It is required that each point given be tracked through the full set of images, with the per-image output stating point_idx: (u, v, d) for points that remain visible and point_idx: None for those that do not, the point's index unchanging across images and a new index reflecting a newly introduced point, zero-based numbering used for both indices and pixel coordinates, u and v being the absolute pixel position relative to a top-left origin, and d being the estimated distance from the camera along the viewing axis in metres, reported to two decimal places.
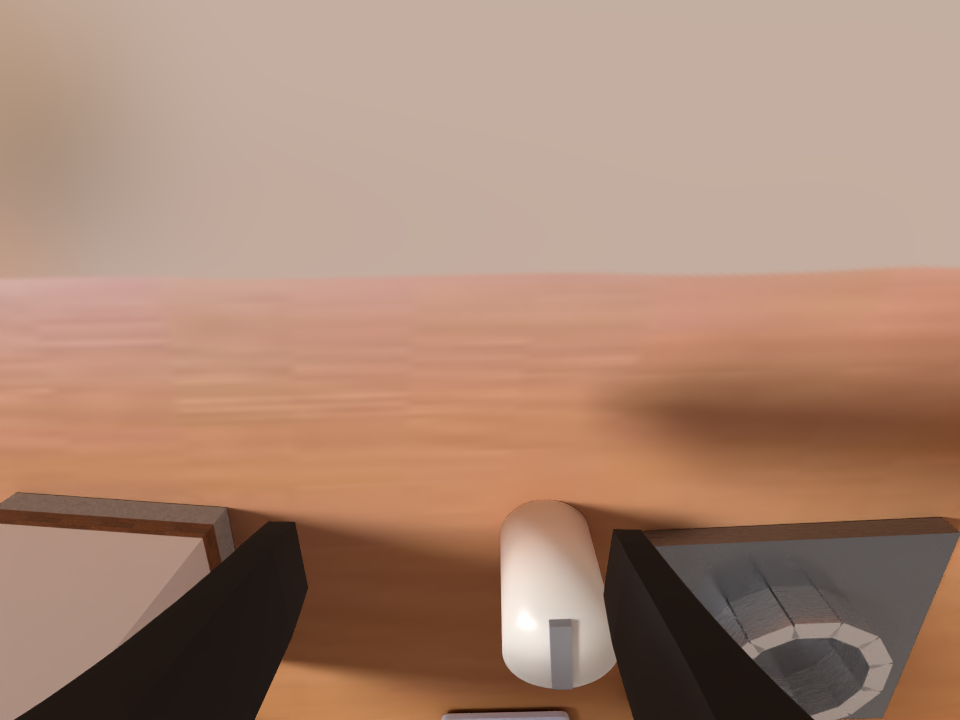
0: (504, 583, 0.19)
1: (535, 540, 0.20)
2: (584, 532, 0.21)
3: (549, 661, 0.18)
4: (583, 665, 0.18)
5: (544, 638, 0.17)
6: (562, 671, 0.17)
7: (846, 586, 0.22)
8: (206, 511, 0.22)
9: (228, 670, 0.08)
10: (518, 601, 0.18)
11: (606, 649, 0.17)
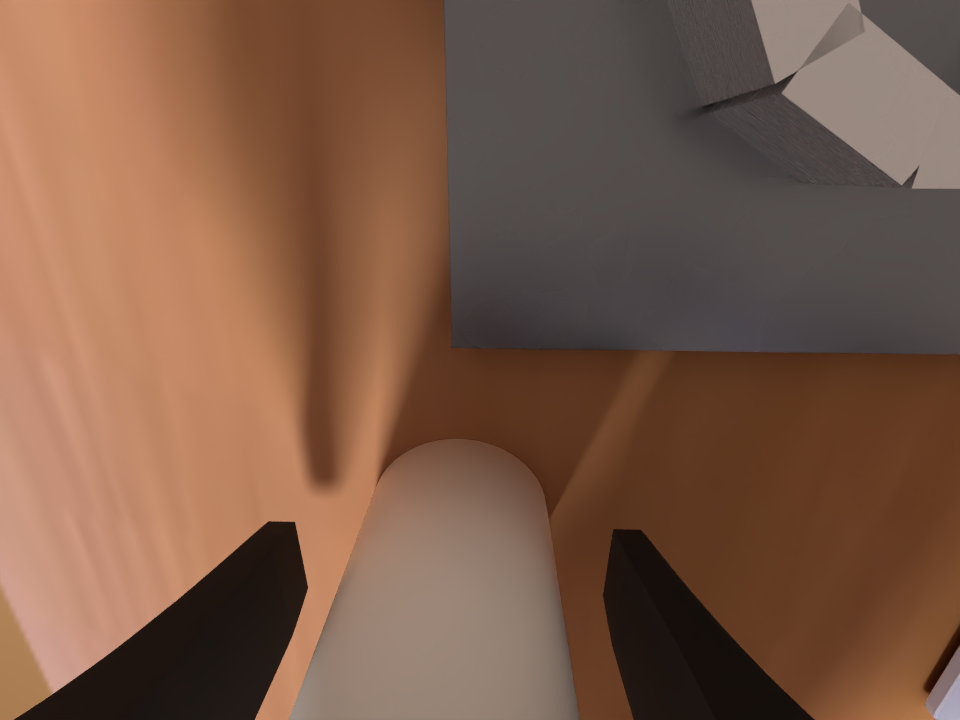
0: None
1: None
2: (388, 493, 0.10)
3: None
4: None
5: None
6: None
7: None
8: None
9: (228, 670, 0.08)
10: None
11: None
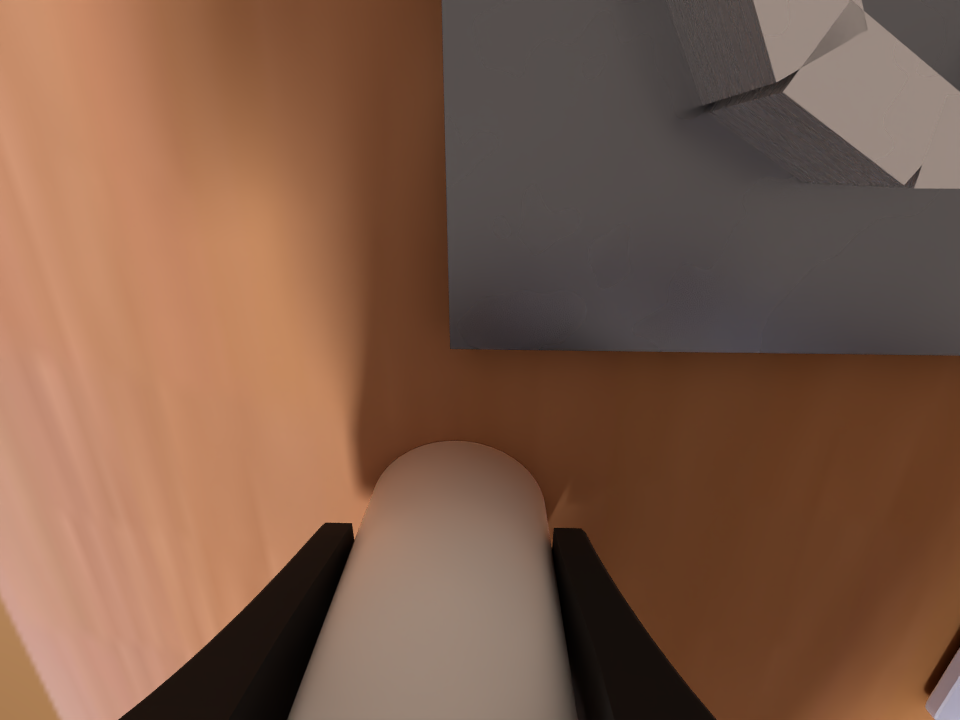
0: None
1: None
2: (385, 495, 0.10)
3: None
4: None
5: None
6: None
7: None
8: None
9: (301, 672, 0.08)
10: None
11: None
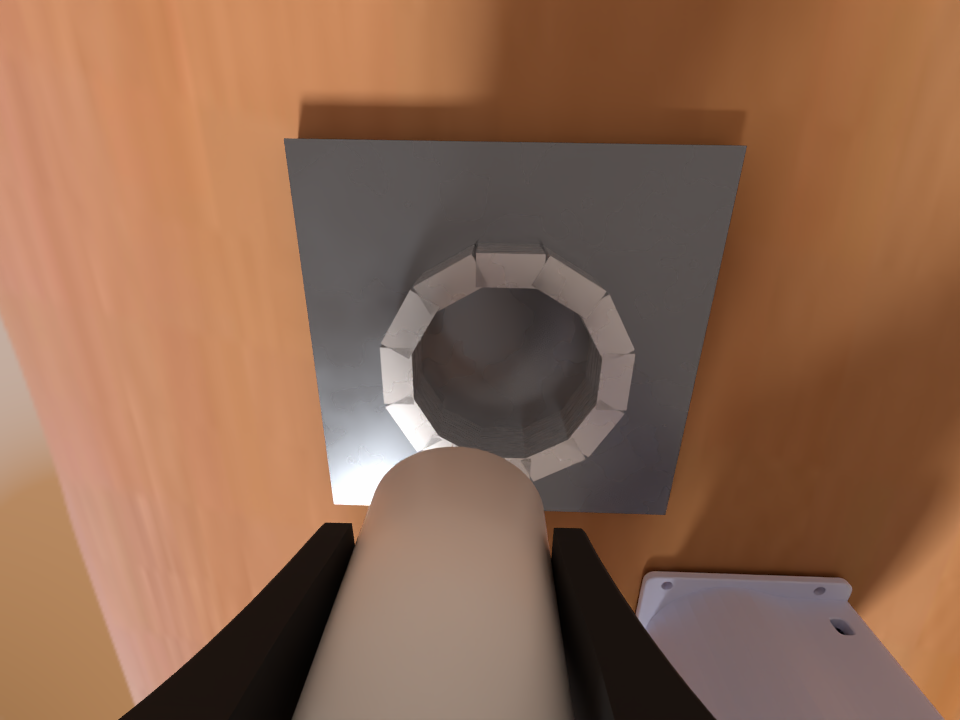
0: None
1: None
2: (390, 499, 0.10)
3: None
4: None
5: None
6: None
7: (395, 281, 0.15)
8: None
9: (301, 672, 0.08)
10: None
11: None
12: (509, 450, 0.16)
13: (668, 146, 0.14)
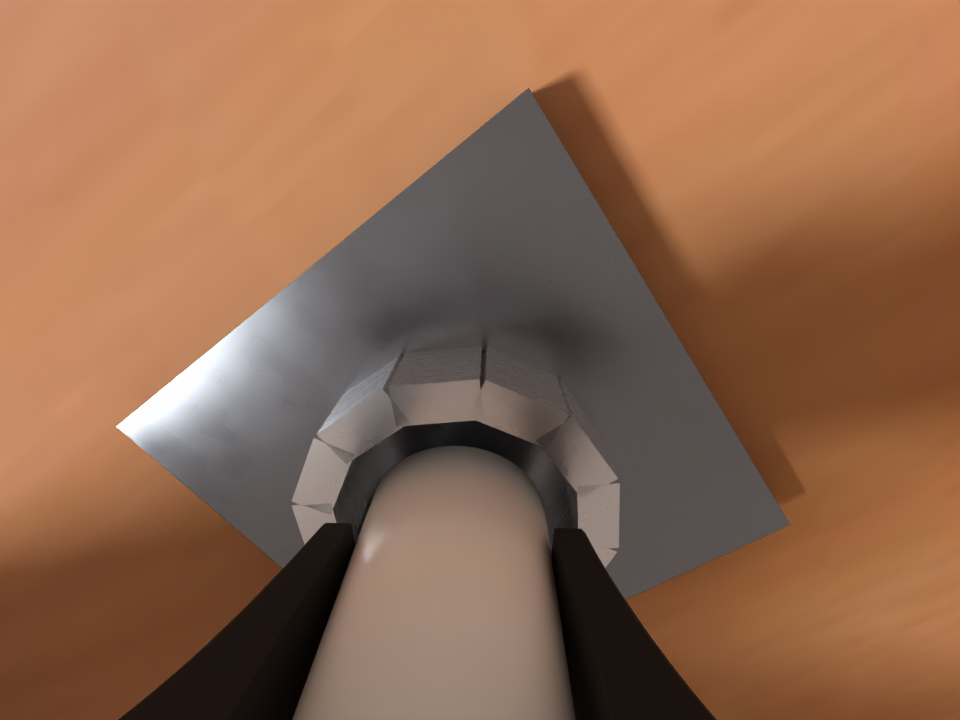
0: None
1: None
2: (392, 498, 0.10)
3: None
4: None
5: None
6: None
7: (454, 324, 0.11)
8: None
9: (301, 672, 0.08)
10: None
11: None
12: None
13: (756, 472, 0.13)
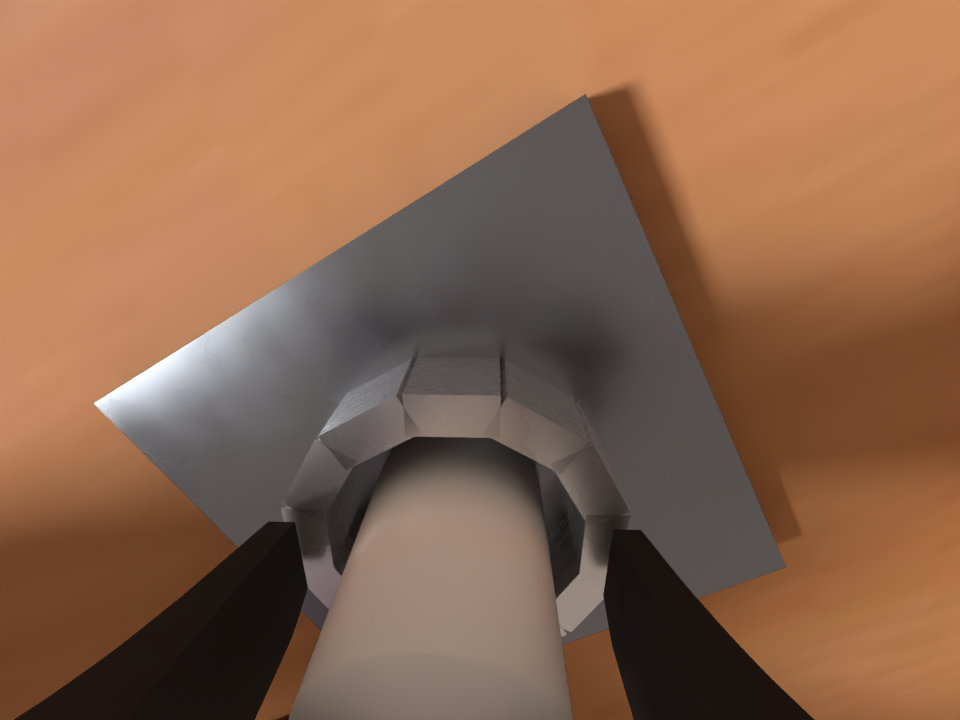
0: None
1: None
2: (399, 470, 0.11)
3: None
4: None
5: None
6: None
7: (474, 333, 0.11)
8: None
9: (228, 670, 0.08)
10: None
11: (432, 676, 0.06)
12: None
13: (761, 513, 0.13)
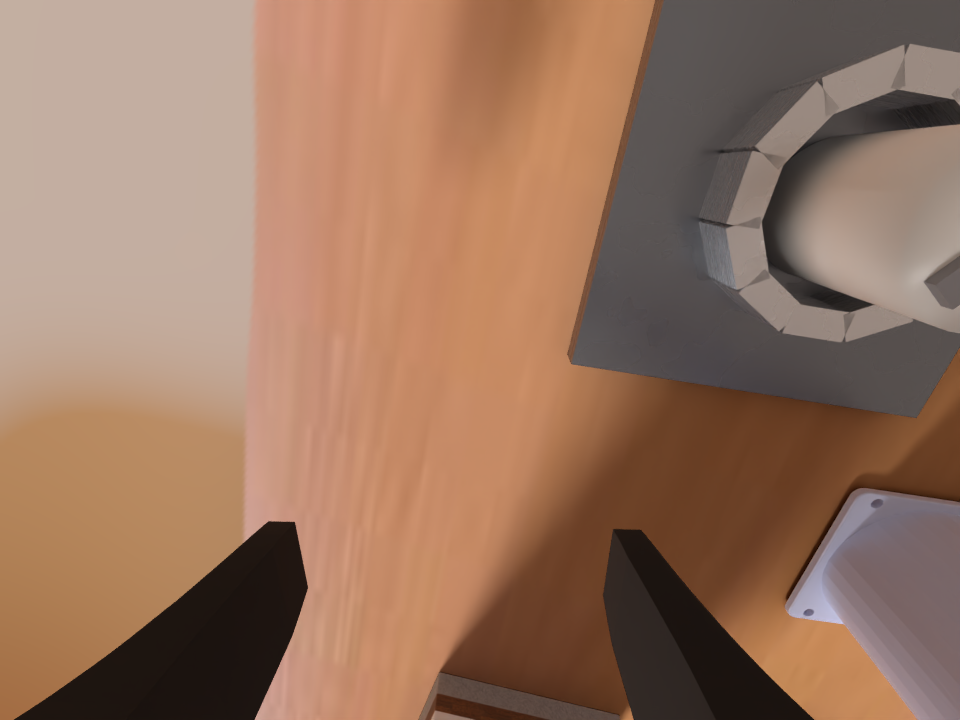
0: None
1: (826, 286, 0.14)
2: (784, 208, 0.14)
3: None
4: None
5: None
6: None
7: (744, 96, 0.14)
8: (435, 686, 0.26)
9: (228, 670, 0.08)
10: None
11: None
12: (822, 305, 0.15)
13: None
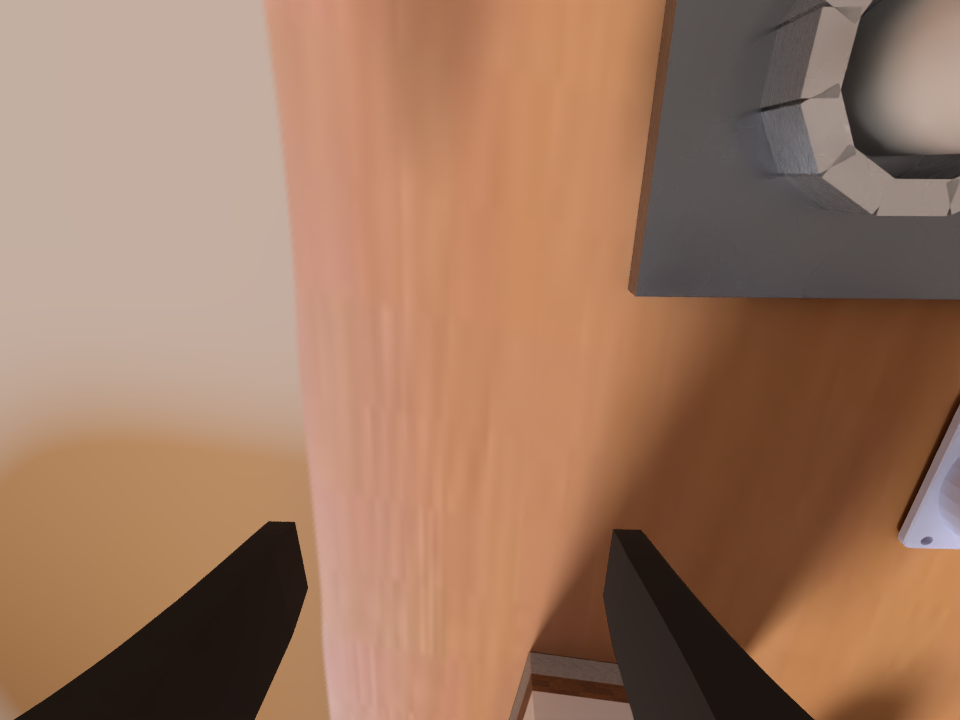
0: None
1: (925, 148, 0.12)
2: (863, 70, 0.12)
3: None
4: None
5: None
6: None
7: None
8: (527, 667, 0.25)
9: (228, 670, 0.08)
10: None
11: None
12: None
13: None
